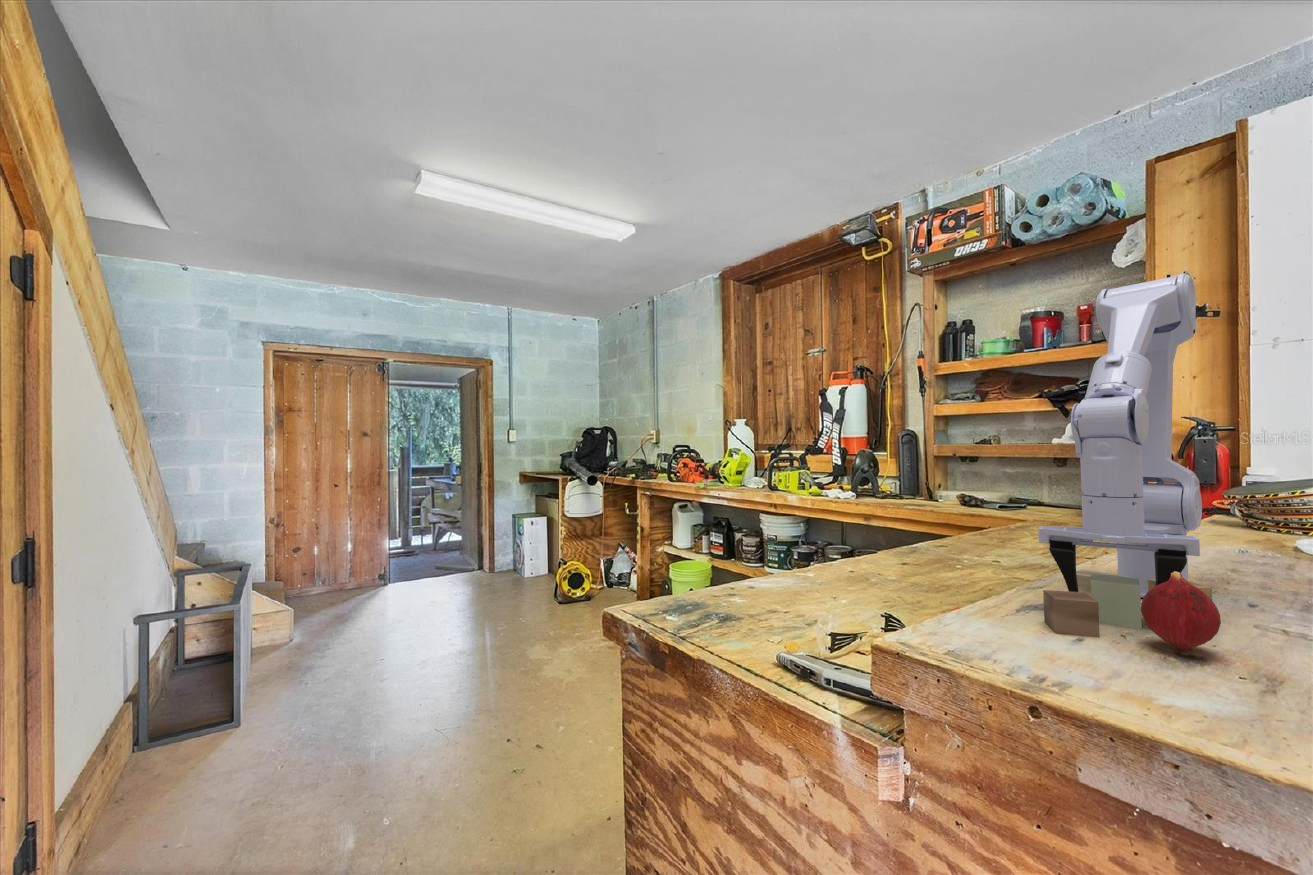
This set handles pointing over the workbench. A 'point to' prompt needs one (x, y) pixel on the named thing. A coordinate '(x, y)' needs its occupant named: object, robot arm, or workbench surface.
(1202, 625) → the onion
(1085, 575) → the maple block
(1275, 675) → the workbench surface
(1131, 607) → the sage block
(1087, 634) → the walnut block
